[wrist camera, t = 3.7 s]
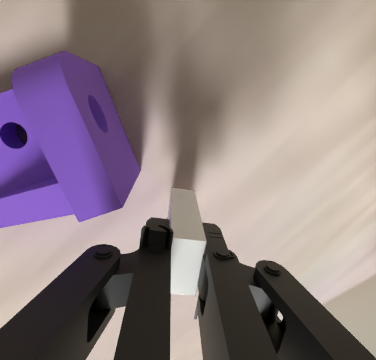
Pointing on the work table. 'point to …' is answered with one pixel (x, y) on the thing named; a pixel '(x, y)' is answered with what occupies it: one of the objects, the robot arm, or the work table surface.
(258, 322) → the robot arm
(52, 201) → the bracket
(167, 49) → the work table surface
